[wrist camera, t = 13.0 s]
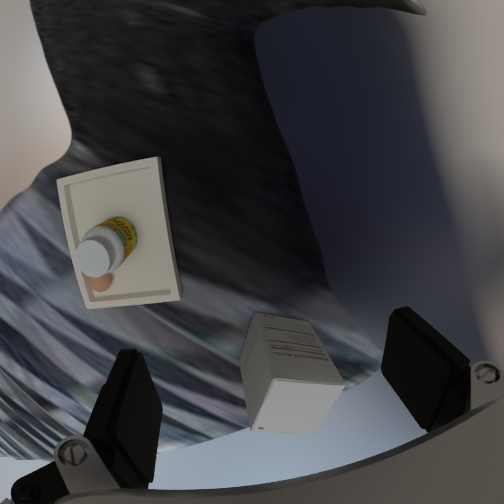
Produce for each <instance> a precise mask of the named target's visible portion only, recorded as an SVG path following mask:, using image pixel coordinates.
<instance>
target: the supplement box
mask: <svg viewBox="0 0 504 504" xmlns="http://www.w3.org/2000/svg"><path fill="white" fill-rule="evenodd" d="M239 362H240V368H241V375H242V382H243V388H244V394H245V401H246V407H247V413H248V419H249V425H250V431H255V432H279V433H316V432H317V430H318V429H319V427H320V426H321V424H322V423H323V421H324V420H325V418H326V416H327V415H328V413H329V412H330V410H331V408H332V407H333V405H334V403H335V402H336V400H337V398H338V397H339V395H340V394H341V392H342V390H343V388H344V387H345V383H344V381H343V379H342V378H341V376H340V374H339V372H338V371H337V369H336V367H335V366H334V364H333V362H332V360H331V359H330V357H329V355H328V353H327V352H326V350H325V348H324V346H323V345H322V343H321V341H320V339H319V338H318V336H317V334H316V333H315V331H314V329H313V327H312V326H311V324H310V322H309V321H304V320H298V319H292V318H286V317H280V316H274V315H268V314H263V313H258V312H255V313H254V315H253V318H252V321H251V324H250V327H249V330H248V333H247V337H246V340H245V343H244V346H243V349H242V352H241V355H240V358H239Z"/></svg>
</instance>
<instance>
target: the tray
mask: <svg viewBox="0 0 504 504" xmlns="http://www.w3.org/2000/svg"><path fill="white" fill-rule="evenodd" d="M57 186H58V193H59V199H60V205H61V211H62V217H63V222H64V227H65V232H66V236H67V241H68V245H69V250H70V254H71V258H72V262H73V266H74V269H75V273H76V277H77V280H78V284H79V287H80V290H81V294H82V297H83V300H84V303H85V306H86V309H93V308H106V307H117V306H128V305H139V304H149V303H159V302H168V301H178V300H180V299H181V295H182V288H181V283H180V278H179V273H178V268H177V263H176V257H175V251H174V246H173V240H172V234H171V228H170V221H169V215H168V208H167V201H166V194H165V187H164V179H163V171H162V163H161V157H153V158H147V159H142V160H137V161H132V162H127V163H122V164H117V165H113V166H108V167H104V168H100V169H96V170H91V171H87V172H83V173H80V174H76V175H72V176H68V177H65V178H61V179H58V180H57ZM114 216H122V217H125V218H127V219H129V220H130V221H131V222H132V223H133V224H134V225H135V227H136V230H137V234H138V241H137V245H136V247H135V249H134V250H133V251H132V253H131V254H130V255H129V256H128V257H127V258H126V259H125V261H124V262H123V263H122V264H121V266H120V267H119V268H118V269H117V270H115V271H114V272H112V273H109V274H110V276H111V284H110V287H109V288H108V289H107V290H106V291H104V292H97V291H94V290H93V289H92V288H91V287H90V285H89V280H88V279H89V276H87V275H85V274H84V273H83V272H82V271H81V270H80V269H79V267H78V265H77V262H76V250H77V248H78V246H79V245H80V243H81V240H82V238H83V236H84V235H85V233H86V232H87V231H88V230H90V229H91V228H93V227H95V226H96V225H98V224H100V223H102V222H103V221H105V220H107V219H108V218H111V217H114Z"/></svg>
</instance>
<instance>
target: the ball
mask: <svg viewBox="0 0 504 504" xmlns="http://www.w3.org/2000/svg"><path fill="white" fill-rule="evenodd" d="M88 280H89V285H90V287H91V288H92V289H93V290H94V291H97V292H104V291H106V290H107V289H108V288H109V287H110V284H111V276H110V274H104V275H103V276H101V277H96V278H94V277H89V279H88Z"/></svg>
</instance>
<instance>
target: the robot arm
mask: <svg viewBox="0 0 504 504" xmlns="http://www.w3.org/2000/svg"><path fill="white" fill-rule="evenodd" d="M469 363H470V360H469V359H468V358H467V357H466V356H465V355H464V354H463V353H462V352H460V351H459V350H458V349H457V348H456V347H455V346H454V345H453V344H451V343H450V342H449V341H448V340H447V339H446V338H445V337H443V336H442V335H441V334H440V333H439V332H438V331H437V330H435V329H434V328H433V327H432V326H431V325H430V324H429V323H427V322H426V321H425V320H424V319H423V318H421V317H420V316H419V315H418V314H417V313H415V312H414V311H413V310H412V309H411V308H410V307H402V308H398V309H395V310H394V311H393V313H392V314H391V315H390V318H389V324H388V331H387V337H386V343H385V349H384V354H383V360H382V365H381V371H382V374H383V376H384V377H385V378H386V380H387V381H388V382H389V384H390V385H391V387H392V388H393V389H394V391H395V392H396V394H397V395H398V396H399V397H400V399H401V401H402V402H403V403H404V405H405V406H406V407H407V409H408V410H409V412H410V413H411V415H412V416H413V417H414V419H415V420H416V421H417V423H418V424H419V426H420V427H421V428H422V429H425V430H426V431H427V432H428V433H427V434H425V435H423V436H421V437H419V438H416V439H414V440H412V441H410V442H408V443H405V444H403V445H401V446H398V447H396V448H393V449H391V450H388V451H386V452H383V453H380V454H378V455H375V456H372V457H369V458H366V459H364V460H361V461H358V462H354V463H352V464H348V465H345V466H342V467H338V468H334V469H331V470H327V471H323V472H319V473H315V474H311V475H307V476H302V477H298V478H293V479H288V480H282V481H277V482H271V483H264V484H257V485H250V486H241V487H231V488H218V489H197V490H155V489H148V485H149V483H152V482H153V479H154V470H155V462H156V454H157V447H158V439H159V432H160V425H161V419H162V412H163V409H162V403H161V401H160V399H159V396H158V394H157V391H156V389H155V386H154V384H153V381H152V378H151V376H150V373H149V371H148V368H147V365H146V362H145V360H144V357H143V354H142V353H141V352H139V353H138V351H137V350H136V349H121V350H120V351H119V353H118V356H117V358H116V360H115V363H114V365H113V367H112V369H111V372H110V374H109V377H108V379H107V381H106V384H104V385H103V387H102V388H101V391H100V393H99V396H98V398H97V401H96V403H95V406H94V408H93V411H92V413H91V416H90V418H89V421H88V424H87V426H86V429H85V432H84V435H83V436H78V435H76V436H69V437H66V438H64V439H63V440H61V441H60V442H59V443H58V444H57V446H56V448H55V450H54V459H55V461H53V462H52V463H50V464H48V465H46V466H44V467H42V468H40V469H38V470H36V471H34V472H32V473H30V474H28V475H26V476H24V477H21V478H20V479H18V480H17V481H16V482H15V483H14V484H13V486H12V489H11V497H12V499H10V500H9V499H7V498H6V499H5V500H4V501H3V502H1V503H0V504H504V374H503V371H502V369H501V368H500V367H499V366H498V365H497V364H495V363H493V362H489V361H480V362H477V363H475V364H474V365H473V367H472V368H471V367H470V366H469Z"/></svg>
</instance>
